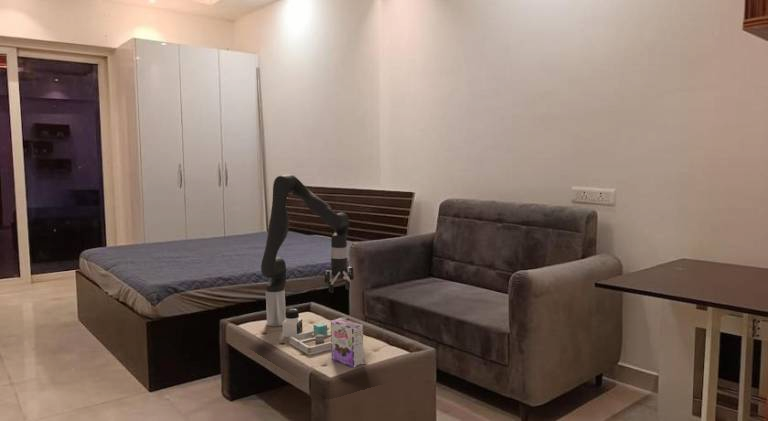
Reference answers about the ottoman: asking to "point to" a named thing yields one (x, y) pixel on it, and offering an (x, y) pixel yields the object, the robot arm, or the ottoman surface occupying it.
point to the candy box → (347, 342)
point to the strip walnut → (318, 344)
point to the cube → (320, 329)
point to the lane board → (306, 337)
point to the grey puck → (319, 339)
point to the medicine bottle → (292, 323)
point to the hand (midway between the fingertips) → (339, 290)
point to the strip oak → (328, 330)
